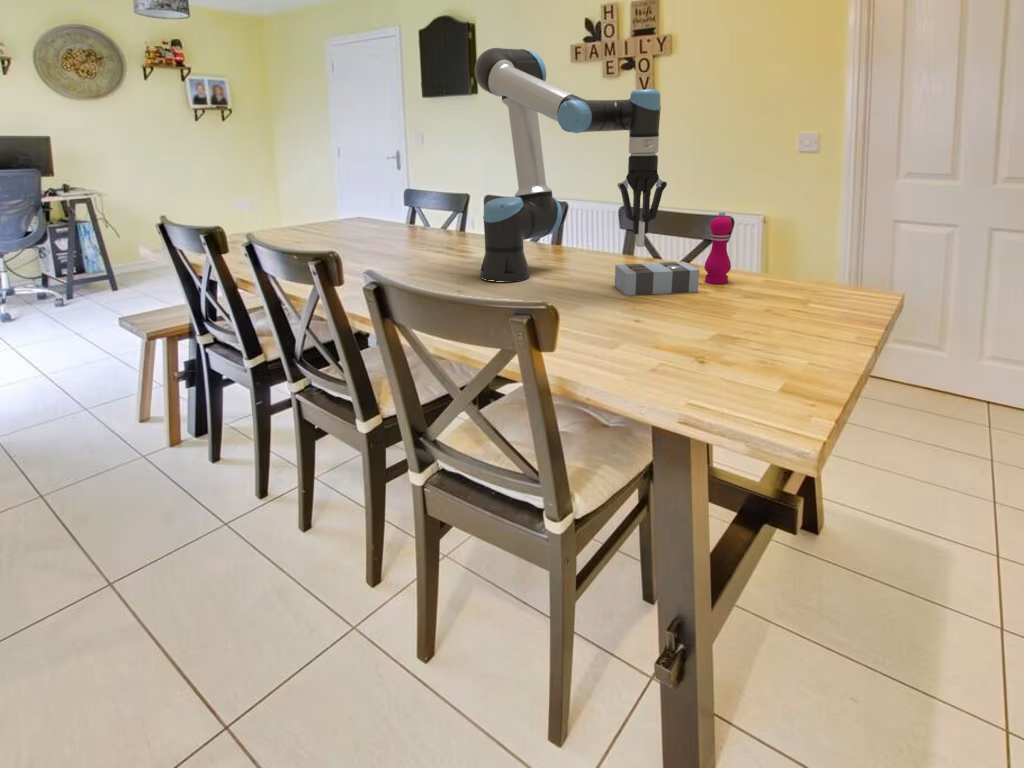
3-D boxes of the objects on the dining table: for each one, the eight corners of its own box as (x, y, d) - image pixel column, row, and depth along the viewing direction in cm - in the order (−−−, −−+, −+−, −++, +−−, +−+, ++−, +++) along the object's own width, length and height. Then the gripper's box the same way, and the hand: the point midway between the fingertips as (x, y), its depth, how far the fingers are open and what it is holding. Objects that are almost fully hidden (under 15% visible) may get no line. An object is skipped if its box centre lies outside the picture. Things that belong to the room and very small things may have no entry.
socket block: (625, 295, 181) (626, 273, 179) (614, 285, 192) (615, 264, 190) (697, 291, 183) (699, 269, 180) (682, 282, 194) (684, 261, 192)
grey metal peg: (668, 289, 186) (669, 268, 183) (663, 286, 189) (664, 265, 187) (682, 288, 186) (683, 267, 184) (677, 285, 190) (678, 264, 188)
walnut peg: (632, 291, 185) (633, 270, 183) (628, 287, 188) (629, 267, 186) (646, 290, 185) (647, 269, 183) (642, 287, 189) (643, 266, 187)
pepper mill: (730, 284, 189) (737, 212, 182) (704, 284, 191) (709, 212, 183) (728, 279, 196) (734, 209, 189) (702, 278, 197) (707, 209, 190)
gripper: (622, 156, 170) (619, 249, 178) (672, 154, 171) (667, 247, 179) (615, 154, 177) (612, 245, 185) (663, 153, 178) (658, 242, 186)
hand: (639, 246), depth 182 cm, fingers closed
